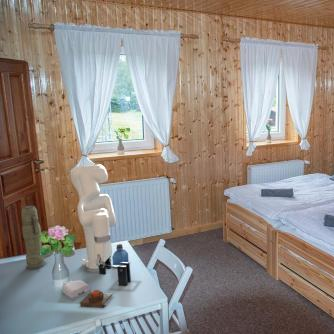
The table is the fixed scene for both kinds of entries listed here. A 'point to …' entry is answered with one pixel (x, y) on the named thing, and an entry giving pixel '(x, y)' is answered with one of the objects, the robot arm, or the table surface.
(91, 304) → the button block
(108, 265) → the lever
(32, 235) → the stone head statue
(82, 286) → the pale pink block
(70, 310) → the table surface
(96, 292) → the button
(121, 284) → the tap bracket
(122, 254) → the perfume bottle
